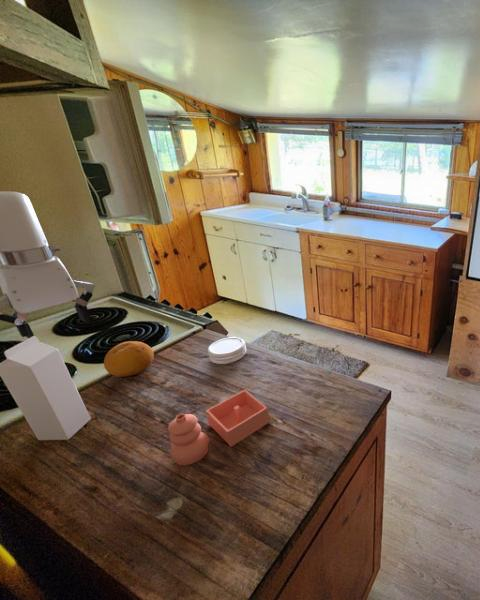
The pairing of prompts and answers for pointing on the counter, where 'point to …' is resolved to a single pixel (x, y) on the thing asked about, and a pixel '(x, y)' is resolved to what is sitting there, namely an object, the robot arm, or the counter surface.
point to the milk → (43, 390)
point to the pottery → (216, 426)
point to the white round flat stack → (227, 350)
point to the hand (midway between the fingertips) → (59, 328)
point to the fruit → (128, 358)
